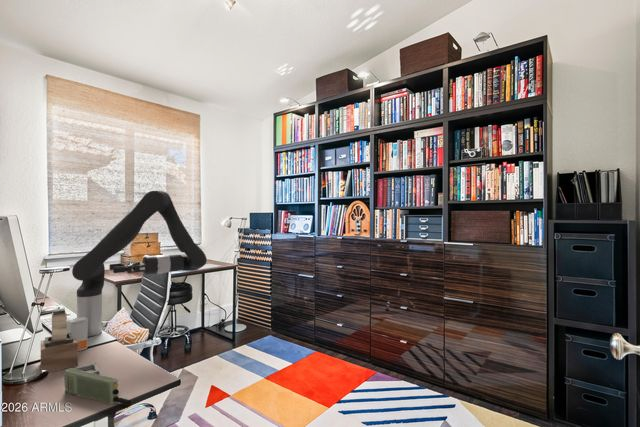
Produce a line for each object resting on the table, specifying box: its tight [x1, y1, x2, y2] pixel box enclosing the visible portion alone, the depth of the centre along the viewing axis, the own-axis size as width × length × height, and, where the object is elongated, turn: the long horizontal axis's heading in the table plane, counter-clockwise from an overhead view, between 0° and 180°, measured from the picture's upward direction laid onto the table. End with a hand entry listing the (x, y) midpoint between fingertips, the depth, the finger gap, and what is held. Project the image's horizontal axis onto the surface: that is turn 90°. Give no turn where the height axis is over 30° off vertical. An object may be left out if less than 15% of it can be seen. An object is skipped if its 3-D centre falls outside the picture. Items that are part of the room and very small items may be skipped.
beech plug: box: [51, 307, 68, 342], centre depth 122 cm, size 4×4×11 cm
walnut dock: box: [40, 333, 79, 373], centre depth 122 cm, size 10×10×9 cm
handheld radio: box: [64, 367, 132, 406], centre depth 100 cm, size 7×3×25 cm
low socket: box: [73, 362, 100, 375], centre depth 115 cm, size 8×8×1 cm
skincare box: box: [67, 317, 88, 352], centre depth 134 cm, size 6×4×12 cm
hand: (111, 268), depth 133 cm, fingers open, 8 cm apart
